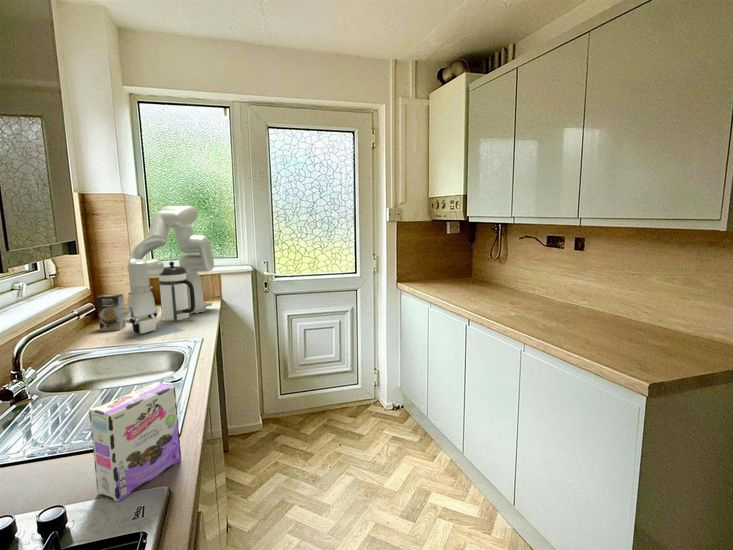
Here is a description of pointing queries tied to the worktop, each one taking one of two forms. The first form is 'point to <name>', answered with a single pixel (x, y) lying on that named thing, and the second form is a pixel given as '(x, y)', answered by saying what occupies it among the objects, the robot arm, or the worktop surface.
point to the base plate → (156, 332)
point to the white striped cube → (146, 324)
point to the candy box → (134, 439)
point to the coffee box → (111, 312)
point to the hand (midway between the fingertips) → (144, 330)
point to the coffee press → (175, 293)
